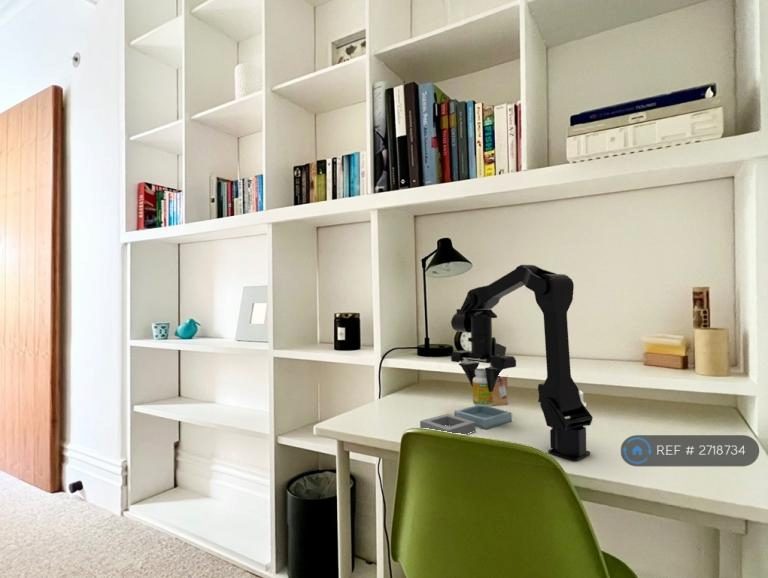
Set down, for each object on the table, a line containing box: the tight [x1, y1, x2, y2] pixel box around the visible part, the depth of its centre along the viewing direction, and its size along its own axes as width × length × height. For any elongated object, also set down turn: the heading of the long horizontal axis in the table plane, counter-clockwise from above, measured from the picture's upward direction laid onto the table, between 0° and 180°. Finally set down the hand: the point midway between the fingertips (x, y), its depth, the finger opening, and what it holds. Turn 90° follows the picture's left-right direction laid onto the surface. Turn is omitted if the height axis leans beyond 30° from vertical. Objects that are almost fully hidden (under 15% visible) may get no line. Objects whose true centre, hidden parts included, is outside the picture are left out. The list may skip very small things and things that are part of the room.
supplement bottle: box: [472, 368, 494, 407], centre depth 119 cm, size 5×5×10 cm
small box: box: [492, 376, 509, 406], centre depth 138 cm, size 8×6×10 cm
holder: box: [419, 413, 477, 435], centre depth 111 cm, size 10×10×2 cm
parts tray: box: [454, 405, 513, 430], centre depth 119 cm, size 11×11×2 cm
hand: (482, 390), depth 119 cm, fingers closed on supplement bottle, 5 cm apart
